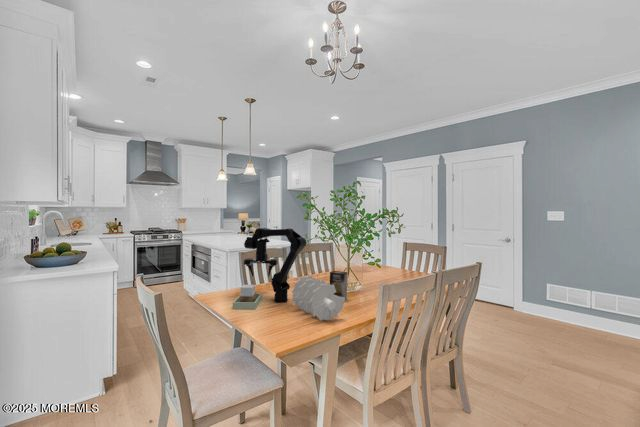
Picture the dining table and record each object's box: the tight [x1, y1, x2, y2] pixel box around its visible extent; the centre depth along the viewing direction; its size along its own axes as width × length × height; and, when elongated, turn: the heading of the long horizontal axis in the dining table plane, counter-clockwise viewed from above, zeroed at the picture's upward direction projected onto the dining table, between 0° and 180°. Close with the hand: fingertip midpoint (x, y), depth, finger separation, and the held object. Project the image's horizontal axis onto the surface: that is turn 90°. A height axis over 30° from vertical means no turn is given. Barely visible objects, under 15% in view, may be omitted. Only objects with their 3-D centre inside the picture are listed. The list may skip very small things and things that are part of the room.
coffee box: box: [329, 270, 348, 301], centre depth 174 cm, size 9×6×16 cm
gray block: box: [240, 284, 256, 296], centre depth 159 cm, size 6×6×4 cm
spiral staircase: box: [291, 274, 346, 322], centre depth 149 cm, size 18×18×25 cm
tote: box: [232, 292, 263, 311], centre depth 162 cm, size 12×17×4 cm
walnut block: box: [238, 292, 257, 302], centre depth 159 cm, size 7×7×6 cm
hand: (260, 276), depth 175 cm, fingers open, 9 cm apart
